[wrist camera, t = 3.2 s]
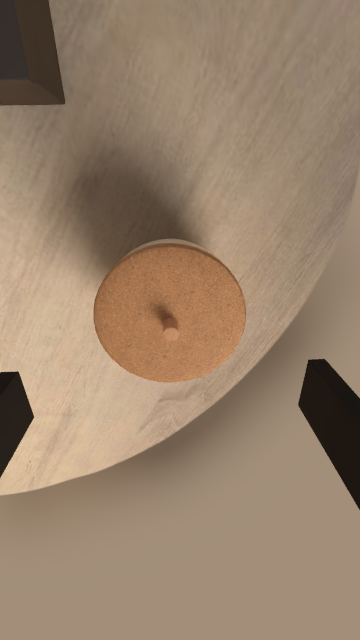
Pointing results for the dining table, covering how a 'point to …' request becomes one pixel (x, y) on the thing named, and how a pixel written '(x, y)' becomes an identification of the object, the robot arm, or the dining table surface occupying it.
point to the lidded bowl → (169, 311)
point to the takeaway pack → (28, 55)
